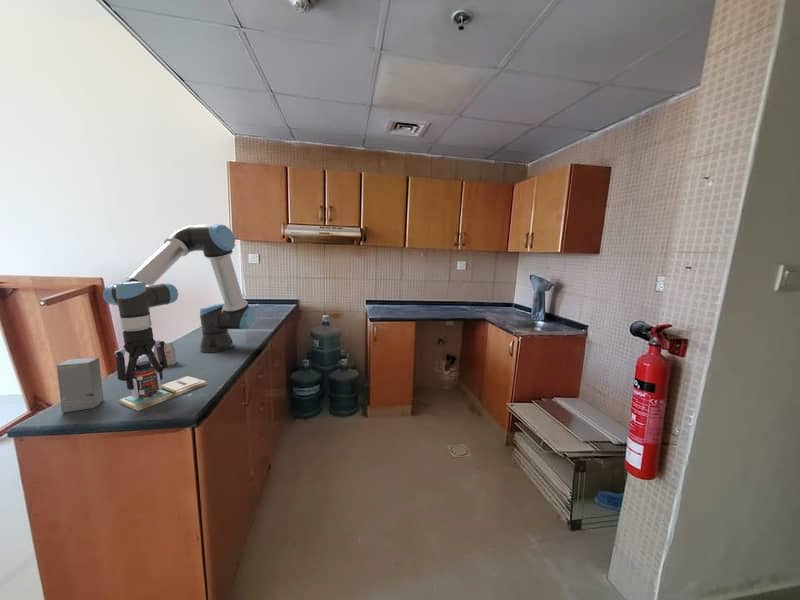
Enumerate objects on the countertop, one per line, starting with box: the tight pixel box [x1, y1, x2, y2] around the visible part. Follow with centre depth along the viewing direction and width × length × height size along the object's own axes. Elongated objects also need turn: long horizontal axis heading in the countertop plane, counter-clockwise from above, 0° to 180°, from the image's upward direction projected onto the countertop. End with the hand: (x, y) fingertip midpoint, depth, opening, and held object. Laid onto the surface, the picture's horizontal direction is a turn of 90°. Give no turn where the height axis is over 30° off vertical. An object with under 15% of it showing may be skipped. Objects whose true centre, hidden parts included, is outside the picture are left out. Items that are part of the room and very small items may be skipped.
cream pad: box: [161, 376, 201, 391], centre depth 115 cm, size 9×9×1 cm
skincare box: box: [56, 357, 104, 414], centre depth 101 cm, size 8×7×16 cm
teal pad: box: [124, 390, 169, 405], centre depth 106 cm, size 9×9×1 cm
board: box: [118, 375, 208, 412], centre depth 110 cm, size 22×12×2 cm, turn 153°
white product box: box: [153, 342, 178, 367], centre depth 138 cm, size 4×7×10 cm, turn 107°
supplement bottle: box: [133, 360, 158, 397], centre depth 105 cm, size 6×6×11 cm
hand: (147, 393), depth 105 cm, fingers closed on supplement bottle, 6 cm apart
